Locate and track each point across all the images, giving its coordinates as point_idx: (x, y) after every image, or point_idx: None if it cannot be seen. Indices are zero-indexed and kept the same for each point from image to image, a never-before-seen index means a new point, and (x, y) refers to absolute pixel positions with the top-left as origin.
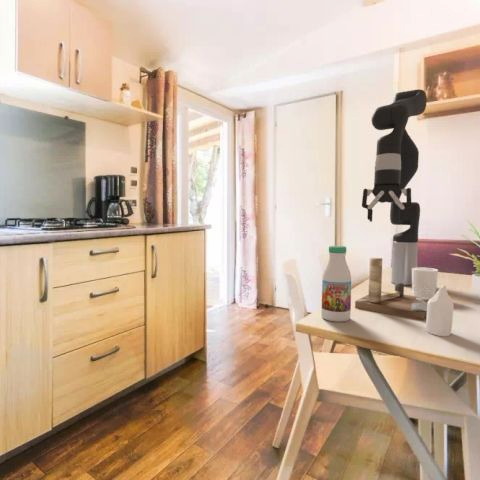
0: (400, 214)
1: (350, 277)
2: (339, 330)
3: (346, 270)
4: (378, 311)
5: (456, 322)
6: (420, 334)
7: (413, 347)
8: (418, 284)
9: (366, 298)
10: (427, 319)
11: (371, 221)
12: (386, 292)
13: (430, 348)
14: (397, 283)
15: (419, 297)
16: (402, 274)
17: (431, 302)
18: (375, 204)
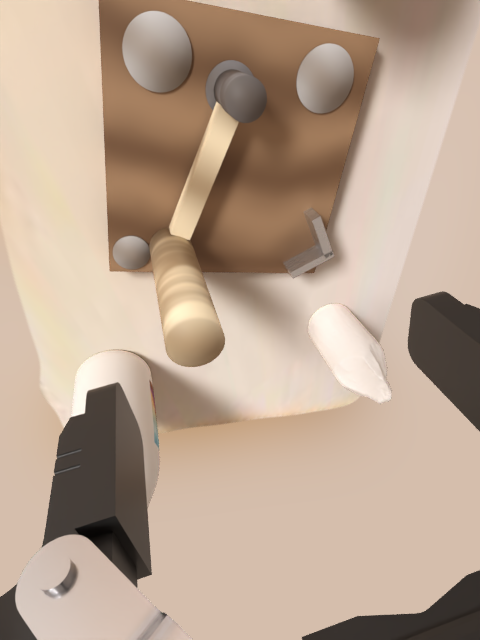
0: (470, 407)
1: (159, 461)
2: (159, 424)
3: (153, 492)
4: None
5: (379, 228)
6: (297, 354)
7: (286, 410)
8: None
9: (125, 207)
10: (320, 353)
11: (132, 421)
12: (195, 169)
13: (310, 399)
14: (237, 106)
15: (310, 57)
16: None
17: (343, 386)
18: (170, 622)
